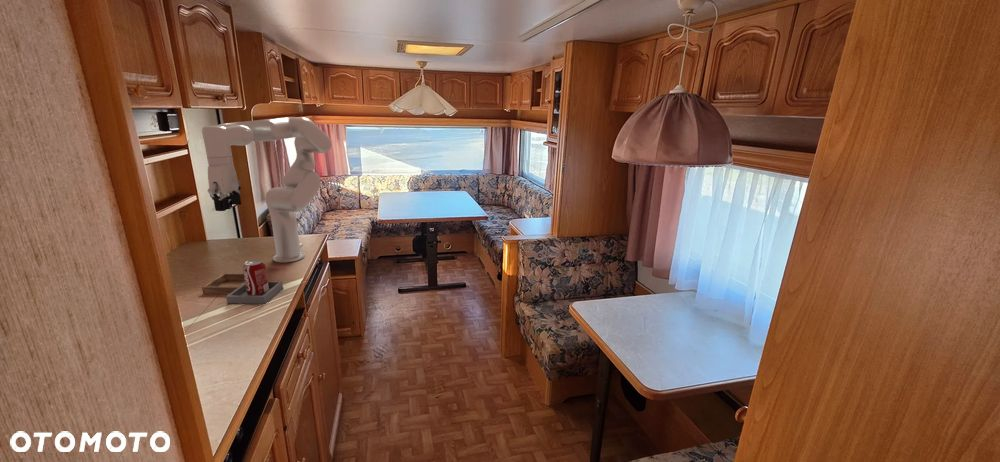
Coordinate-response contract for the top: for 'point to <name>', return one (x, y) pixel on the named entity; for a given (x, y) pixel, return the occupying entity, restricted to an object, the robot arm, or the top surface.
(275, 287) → the grey tray
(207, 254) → the top surface
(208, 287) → the wooden tray
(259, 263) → the soda can
